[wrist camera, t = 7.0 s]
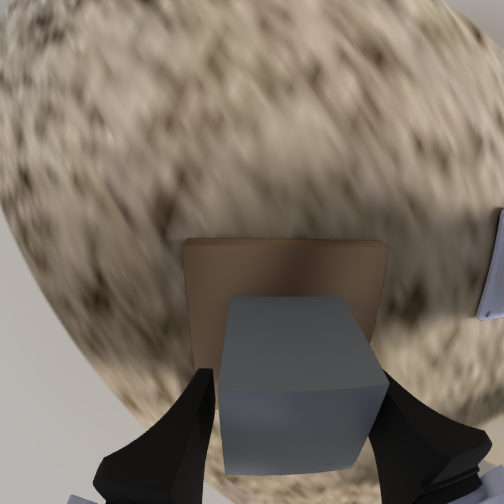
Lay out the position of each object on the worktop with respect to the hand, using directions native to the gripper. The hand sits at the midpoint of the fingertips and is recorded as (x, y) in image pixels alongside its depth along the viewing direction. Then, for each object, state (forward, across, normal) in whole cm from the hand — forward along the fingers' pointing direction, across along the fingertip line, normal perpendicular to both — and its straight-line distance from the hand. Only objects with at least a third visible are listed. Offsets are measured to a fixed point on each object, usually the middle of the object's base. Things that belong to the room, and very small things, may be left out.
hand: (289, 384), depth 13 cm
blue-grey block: (+3, 0, 0) cm, 3 cm away
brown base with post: (+4, 0, 0) cm, 4 cm away
